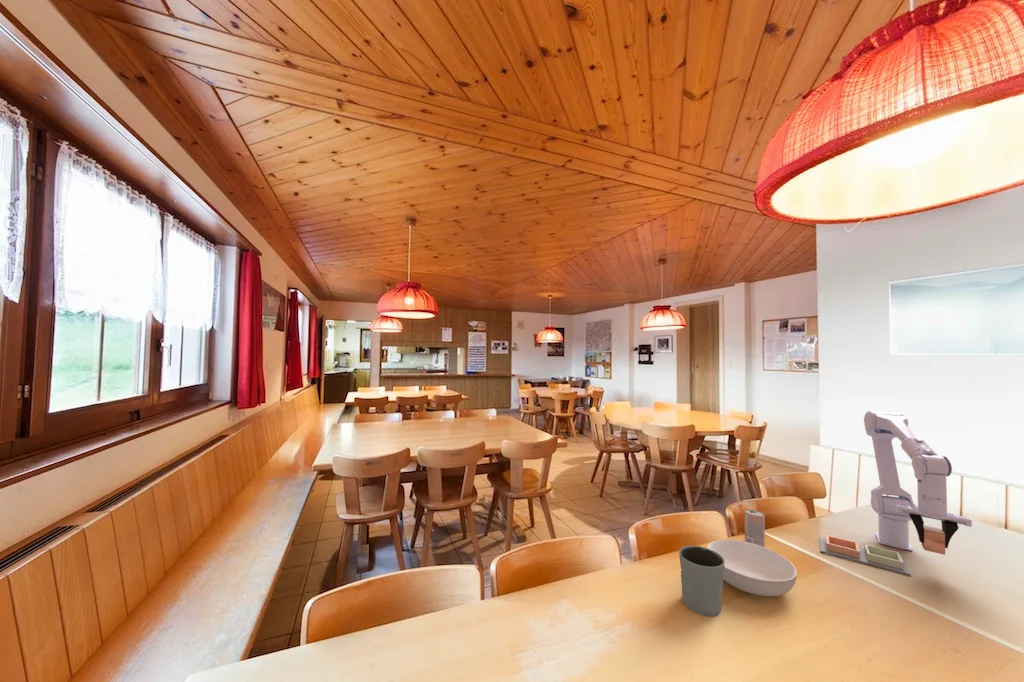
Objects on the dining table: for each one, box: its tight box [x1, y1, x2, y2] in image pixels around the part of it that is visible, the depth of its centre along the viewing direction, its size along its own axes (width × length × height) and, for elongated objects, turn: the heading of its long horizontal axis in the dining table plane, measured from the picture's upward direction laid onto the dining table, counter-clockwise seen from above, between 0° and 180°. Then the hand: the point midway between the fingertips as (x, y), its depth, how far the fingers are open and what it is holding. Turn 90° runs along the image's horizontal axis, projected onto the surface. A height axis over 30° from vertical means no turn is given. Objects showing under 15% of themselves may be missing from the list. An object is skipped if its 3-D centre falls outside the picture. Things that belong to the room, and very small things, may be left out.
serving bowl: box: [706, 539, 798, 597], centre depth 103 cm, size 21×21×7 cm
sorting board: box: [819, 534, 912, 577], centre depth 119 cm, size 12×20×3 cm, turn 52°
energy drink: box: [744, 509, 766, 548], centre depth 121 cm, size 5×5×12 cm
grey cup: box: [678, 545, 725, 617], centre depth 93 cm, size 10×10×12 cm
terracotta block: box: [921, 524, 946, 555], centre depth 110 cm, size 4×4×6 cm
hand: (933, 544), depth 110 cm, fingers closed on terracotta block, 4 cm apart
